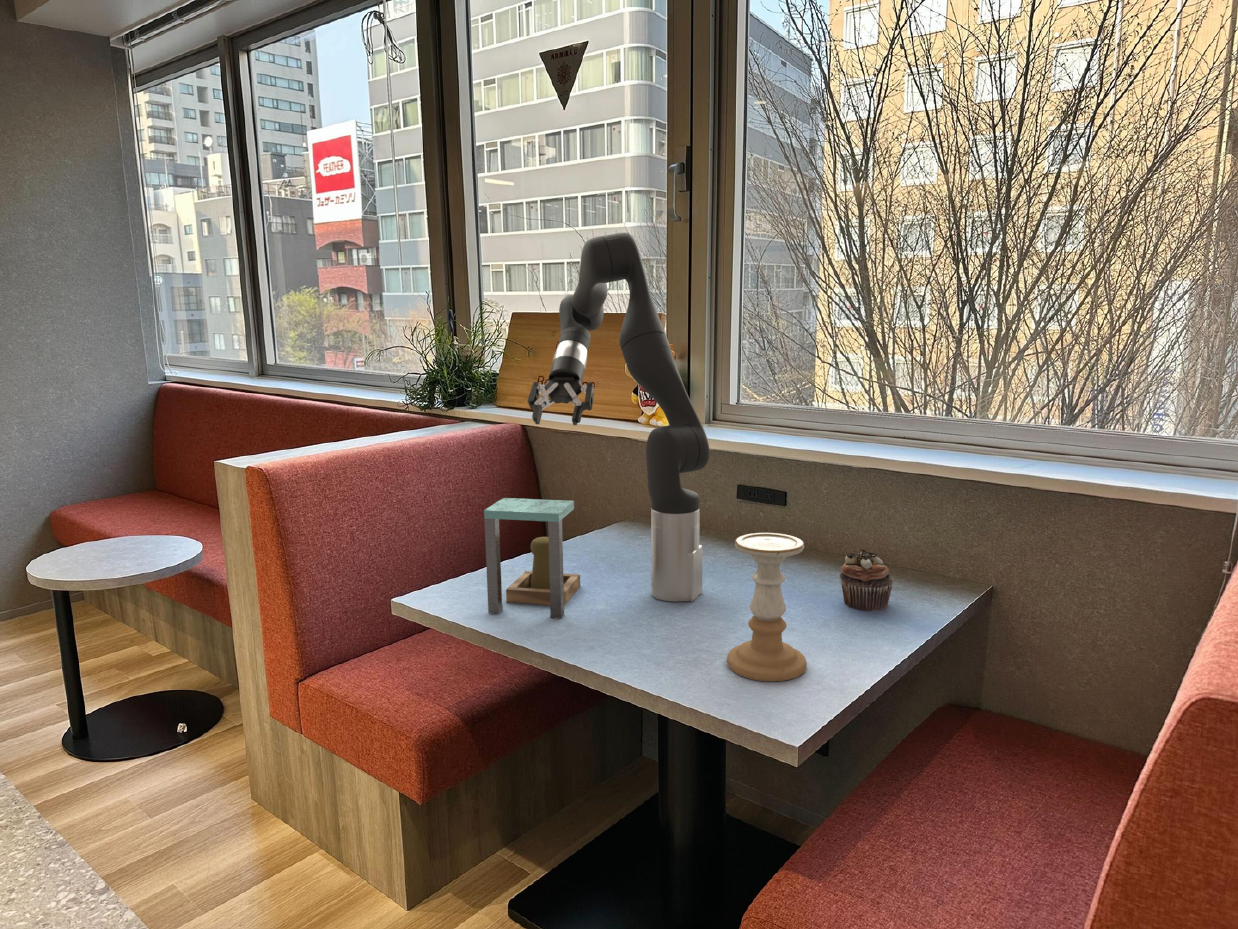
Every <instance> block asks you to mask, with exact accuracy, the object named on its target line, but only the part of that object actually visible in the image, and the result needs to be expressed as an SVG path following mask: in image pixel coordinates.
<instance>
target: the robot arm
mask: <svg viewBox="0 0 1238 929" xmlns="http://www.w3.org/2000/svg"><path fill="white" fill-rule="evenodd" d="M580 255H581V256H580V261H579V262H580V263H579V264H580V265H579V272H578V283H577V286H576V288H575V290H574V291H573V294H572V293H571V294H567V295H566V296H564V297H563V298H562V300H561V301H560V303H559V307H558V308H559V309H558V316H559V323H560V336H559V339H558V344H557V347H556V350H555V351H554V355H553V358H552V363H551V366H550V371H549V375H548V379H547V382H546V383H545V384H539V382H538V381H533V383H532V386H531V388H530V392H529V394H528V397H527V403H528V406H529V409H530V410H533V412H532V416H531V418H532V421H533V422H534V423H535V425H540V424H541V421H542V420H541V419H542V414H543V410H545V409H546V408H547V407H550V406H552V405H553V404H569V403H571V404H572V405H573V406H574V408H573V412H572V417H571V422H572V426H578V424H580V423H581V420H582V415H583V412H584V411H591V410H593V405H594V397H595V388H594V385H593V382H590V381H589V382H587V383H586V384H583V381H584V374H585V371H586V368H587V361H588V353H589V347H590V344H591V339H592V338H591V333H590V332H591V331H596V330H598V329H599V328H600V327H601V325H602V323H603V320H604V311H605V310H604V303H605V302H606V300H607V296H608V291H609V289H608V285H607V283H614V282H618V281H623V280H625V281H626V283H627V285H628V290H629V298H628V299H629V300H628V305H627V309H626V313H625V315H624V318H623V321H622V324H621V328H620V333H619V346H620V350H621V354H622V356H623V358H624V359H623V360H624V362H625V365H626V368H627V369H628V372H629V374H630V375H631V377H632V378H633V380H634V381H635V382H636V383H637V384H638V385H639V386H640V387H641V388H642V389H643V390H644V391H645V392H646V393H647V395H648V396H650V397H651V398H652V399H653V400H654V401H655V403H657V404H658V406H659V407H660V409H661V410H662V412H663V414H664V416H665V417H666V420H667V422H668V425H663V426H657V427H655V428H653V429H652V430H651V431H650V433H649V435H648V437H647V441H646V444H645V446H646V447H645V454H646V455H645V458H646V477H647V490H648V495H649V498H650V503H651V504H650V506H651V508H650V510H651V512H650V516H651V517H650V519H651V521H650V523H651V525H650V526H651V527H650V528H651V530H650V531H651V536H650V537H651V542H650V543H651V548H650V550H651V553H650V554H651V556H650V557H651V559H650V560H651V581H650V582H651V583H650V584H651V595H652V597H654V598H656V599H657V600H661V601H666V602H684V601H685V602H687V601H688V602H694V601H695V600H696V599H697V598H698V597H699V596H700V595H701V594H702V592H703V545H702V544H700V507H701V506H700V502H701V500H700V495H699V494H698V493H697V492H696V491H693V490H691V489H688V488H687V489H686V488H684V487H683V486H682V483H681V476H680V474H685V473H690V472H697V471H699V470H703V468H705V467H706V466H707V464H708V462H709V459H710V445H709V440H708V436H707V434H706V431H705V429H704V427H703V424H702V422H701V420H700V418H699V416H698V414H697V411H696V410H695V408H694V405H693V403H692V402H691V399H690V397H689V395H688V392H687V389H686V388H685V385H684V382H683V379H682V377H681V375H680V371H679V369H678V367H677V364H676V361H675V358H674V355H673V351H672V349H671V348H672V347H671V345H670V342H669V340H668V337H667V334H666V330H665V329H664V326H663V324H662V321H661V319H660V315H659V313H658V310H657V308H656V305H655V302H654V299H653V297H652V293H651V290H650V286H649V282H648V279H647V274H646V271H645V268H644V263H643V260H642V256H641V253H640V250H639V246H638V244H637V241H636V240H635V238H634V237H633V236H632V234H631V233H629V232H616V233H610V234H606V235H599V236H595V237H591V238H589V239H588V240H586V241H585V242H584V244H583V247H582V249H581V254H580ZM582 392H583V393H584V395H585V397H584V401H581V399H580V398H579V397H578V396H579V395H580V394H582Z"/></svg>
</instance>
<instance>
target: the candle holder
mask: <svg viewBox="0 0 1238 929" xmlns="http://www.w3.org/2000/svg"><path fill="white" fill-rule="evenodd" d="M734 546H735V549H736V550H738V552H741V553H743V554H745V555H749V556H751V557H752V559H753V560H754V561H755V562H756V565H757V566H756V567H757V568H756V571H755V572H754V573H753V574H752V575H751V580H752V581H753V582H755V587H754V591H753V595H752V597H751V601H750V604H749V610H750V613H751V614H752V617H751V618H750V619H749V620H748V622H747V624H748V627H749V629H750V630H751V631H752V635H751V640H747V641H744V642H742V643H741V644H740V645H736V646H735V647H733V648H732V649H730V650H729V651H728V653H727V655H726V663H727V667H728V668H729V669H730V670H731V672H734V674H736V675H738V676H740V677H744V678H746V679H751V680H754V681H761V682H783V681H788V680H789V681H790V680H794V679H796V678H799V677H800V676H801V675H803V674H804V673H805V672H806V669H807V663H808V662H807V659H806V656H805V655H804V654H803V653H802V652H801V651H800V650H798V649H796V648H794V647H793V646H792V645H790V644H789V643H787V642H783V635H782V633H783V632H784V631H785V630H786V629H787V625H788V624H787V622H786V620H784V619H783V616H784V615H785V613H786V609H787V608H786V607H787V606H786V603H785V600H784V596H783V592H782V584H783V583H784V582H785V580H786V576H785V575H784V574H783V573H782V572H781V564H782V563H783V562H784V561H785V560H786V558H787V557H792V556H796V555H798V554H801V553H803V550H804V548H805V543H804V541H803V540H802V539H801V538H798V537H796V536H793V535H789V534H785V533H778V532H754V533H753V532H752V533H751V532H750V533H746V534H743V535H740V536H738V537H736V539H735V541H734Z"/></svg>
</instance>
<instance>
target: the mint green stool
mask: <svg viewBox="0 0 1238 929" xmlns="http://www.w3.org/2000/svg"><path fill="white" fill-rule="evenodd" d="M573 510H575V500H560V499H559V500H558V499H541V498H540V499H537V498H534V499H533V498H516V497H515V498H514V497H513V498H511V497H503V498H501V499H500V500H497V501H496V502H495V503H493V504H492V505H490V506H489V507H487V508H485V509H484V510H483V513H484V514H483V516H484V517H483V519H484V538H485V561H486V562H485V564H486V586H487V587H486V588H487V589H486V590H487V591H486V592H487V610H488V611H487V612H488V614H494V615H495V614H497V615H499V614H500V613H501V612H502V611H503V593H502V591H503V590H502V568H501V567H502V566H501V565H502V564H501V562H502V561H501V542H500V539H501V537H500V536H501V535H500V520H512V521H513V520H514V521H533V522H535V521H536V522H547V526H548V527H547V531H548V536H547V537H548V538H549V575H550V605H549V606H550V607H549V608H550V611H549V612H550V619H551V618H553V619H562V618H563V617H564V616H565V606H564V579H563V573H564V543H563V539H564V538H563V520H564V518H565V517H566V516H567V515H569V514H570V513H571V512H572V511H573ZM563 615H564V616H563ZM562 616H563V617H562Z"/></svg>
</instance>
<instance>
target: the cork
mask: <svg viewBox="0 0 1238 929" xmlns="http://www.w3.org/2000/svg"><path fill="white" fill-rule="evenodd" d="M530 551H531V554H532V556H533V558H532V559H533V560H532V579H531V586H530V588H532V589H547V590H550V575H549V538H548V536H539V537H536V538H534V539H533V540H532V541H531V543H530Z"/></svg>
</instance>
